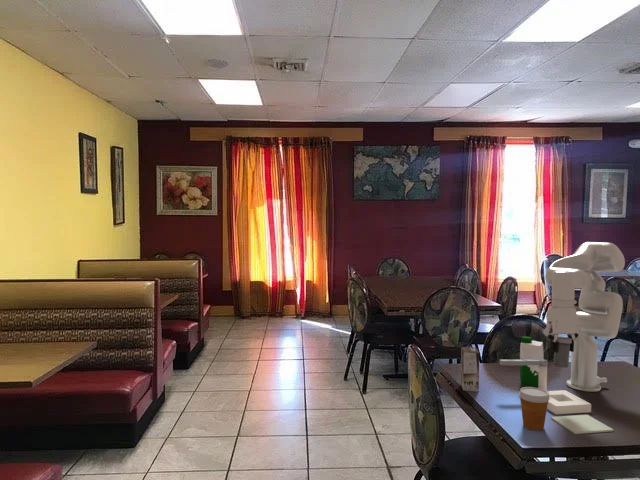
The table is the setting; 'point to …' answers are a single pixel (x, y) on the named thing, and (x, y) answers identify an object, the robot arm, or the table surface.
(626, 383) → the table surface
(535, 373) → the milk carton
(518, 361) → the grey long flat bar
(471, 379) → the coffee box
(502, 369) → the table surface
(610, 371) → the table surface
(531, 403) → the disposable coffee cup
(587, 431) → the rubber mat
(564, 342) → the plug
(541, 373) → the socket base
